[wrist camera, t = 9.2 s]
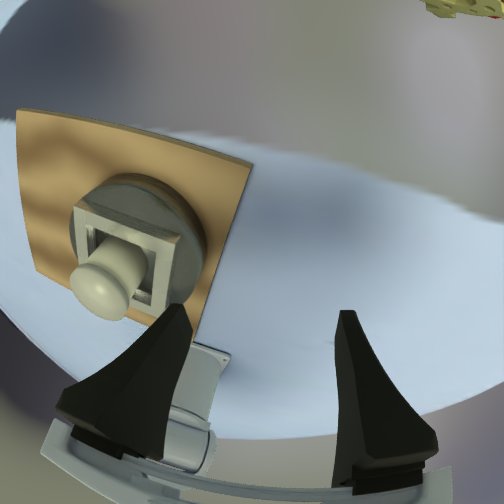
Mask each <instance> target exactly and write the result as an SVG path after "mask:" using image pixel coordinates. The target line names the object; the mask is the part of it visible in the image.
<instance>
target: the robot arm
mask: <svg viewBox="0 0 504 504" xmlns="http://www.w3.org/2000/svg"><path fill="white" fill-rule="evenodd" d="M192 336H193V328H192V326H191V323H190V321H189V318H188V315H187V313H186V310H185V307H184V305H183V304H178V303H171V305H170V306H169V307H168V308H167V309H166V310H165V311H164V312H163V313H162V314H161V315H160V316H159V317H158V318H157V319H156V321H155V322H154V323H153V324H152V325H151V326H150V327H149V328H148V329H147V330H146V331H145V332H144V333H143V334H142V335H141V336H140V337H139V338H138V339H137V340H136V341H135V342H134V343H133V344H132V345H131V346H130V347H129V348H128V349H127V350H126V351H124V352H123V353H122V354H121V355H120V356H118V357H117V358H116V359H115V360H113V361H112V362H111V363H109V364H108V365H106V366H105V367H104V368H102V369H101V370H99V371H98V372H96V373H95V374H93V375H91V376H90V377H88V378H86V379H84V380H82V381H80V382H78V383H76V384H74V385H72V386H70V387H68V388H65V389H64V390H63V392H62V394H61V396H60V398H59V400H58V402H57V404H56V406H55V409H56V411H57V412H59V413H60V414H61V415H62V416H64V417H65V418H66V419H68V420H69V421H70V422H72V423H73V424H75V425H74V428H71V427H70V426H68V425H67V424H64V423H63V422H61V421H59V420H58V419H56V418H55V419H54V420H53V423H52V425H51V427H50V429H49V432H48V434H47V436H46V439H45V441H44V444H43V446H42V448H41V451H40V453H41V454H42V455H43V456H45V457H46V458H48V459H49V460H50V461H52V462H53V463H54V464H56V465H57V466H59V467H60V468H62V469H63V470H64V471H66V472H67V473H69V474H70V475H71V476H73V477H74V478H76V479H78V480H79V481H80V482H82V483H83V484H85V485H86V486H88V487H89V488H91V489H93V490H94V491H96V492H98V493H99V494H101V495H103V496H104V497H106V498H108V499H110V500H112V501H113V502H115V503H117V504H202V503H198V502H193V501H189V500H186V499H181V498H179V495H180V492H183V491H186V490H189V489H193V488H196V489H200V490H204V491H209V492H214V493H219V494H225V495H231V496H237V497H244V498H252V499H261V500H273V501H291V502H322V503H320V504H452V469H451V466H448V467H445V468H441V469H438V470H434V471H430V472H427V473H424V474H423V473H422V469H423V468H425V460H427V459H429V458H430V457H432V456H434V455H435V454H437V452H438V451H439V449H438V441H437V437H436V433H435V431H434V430H433V429H432V428H431V427H430V426H429V425H428V424H427V423H426V422H425V421H424V420H423V419H422V418H421V417H420V416H419V415H418V414H417V413H416V411H415V410H414V409H413V408H412V407H411V406H410V405H409V403H408V402H407V401H406V400H405V398H404V397H403V396H402V395H401V394H400V392H399V391H398V389H397V388H396V387H395V385H394V384H393V382H392V381H391V380H390V378H389V377H388V375H387V373H386V372H385V370H384V369H383V367H382V365H381V364H380V362H379V360H378V359H377V357H376V355H375V353H374V351H373V349H372V347H371V345H370V343H369V342H368V340H367V338H366V335H365V333H364V331H363V329H362V327H361V324H360V322H359V320H358V317H357V315H356V312H355V311H354V310H340V314H339V319H338V324H337V329H336V334H335V367H336V377H337V388H338V401H339V414H338V433H337V446H336V456H335V464H334V471H333V478H332V487H331V488H319V489H318V488H315V489H304V488H298V489H297V488H278V487H264V486H255V485H247V484H239V483H232V482H226V481H221V480H215V479H210V478H205V475H206V473H207V470H208V469H209V468H210V466H211V463H212V461H213V459H214V455H215V452H216V446H217V438H216V435H215V433H214V431H213V430H210V429H209V428H210V424H211V423H210V422H207V421H208V417H209V413H210V409H211V405H212V401H213V397H214V393H215V389H216V385H217V381H218V379H219V377H220V375H221V374H222V372H223V370H224V369H225V367H226V365H227V363H228V362H229V360H230V355H228V354H225V353H222V352H219V351H216V350H213V349H210V348H207V347H204V346H201V345H199V344H196V343H191V340H192ZM143 458H144V459H143ZM145 458H149V459H152V460H155V461H158V462H161V463H164V464H167V465H170V466H173V467H176V468H180V469H183V470H185V471H179V470H175V469H171V468H168V467H165V466H162V465H159V464H157V463H154V462H151V461H148V460H146V459H145Z"/></svg>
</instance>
